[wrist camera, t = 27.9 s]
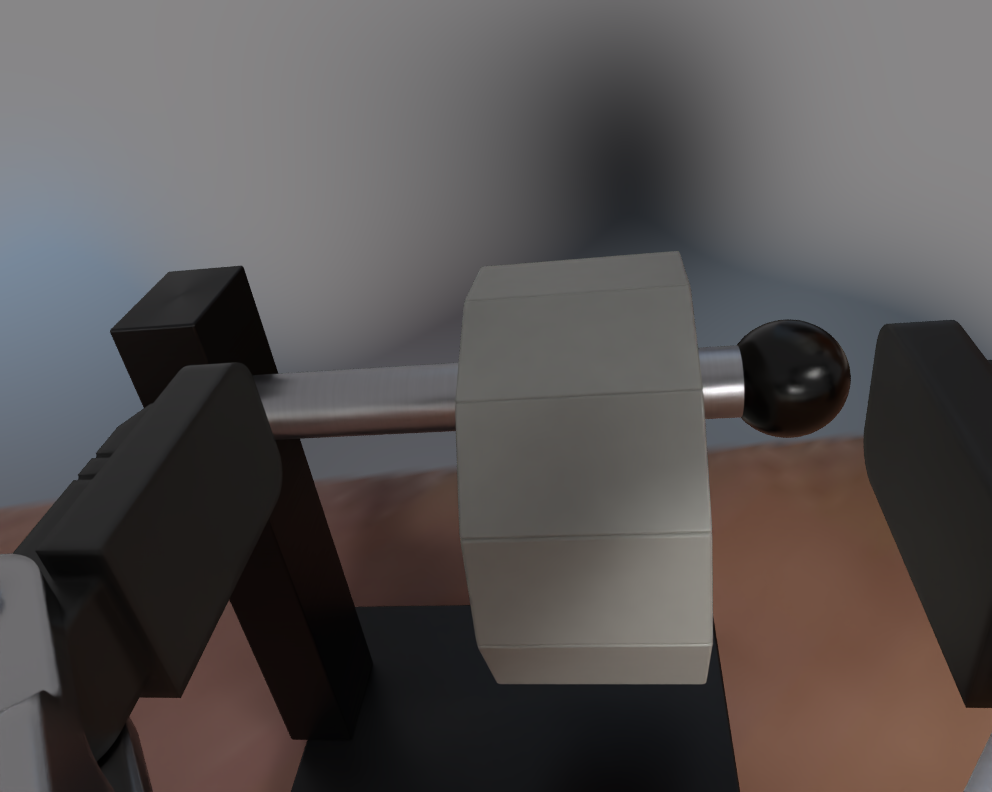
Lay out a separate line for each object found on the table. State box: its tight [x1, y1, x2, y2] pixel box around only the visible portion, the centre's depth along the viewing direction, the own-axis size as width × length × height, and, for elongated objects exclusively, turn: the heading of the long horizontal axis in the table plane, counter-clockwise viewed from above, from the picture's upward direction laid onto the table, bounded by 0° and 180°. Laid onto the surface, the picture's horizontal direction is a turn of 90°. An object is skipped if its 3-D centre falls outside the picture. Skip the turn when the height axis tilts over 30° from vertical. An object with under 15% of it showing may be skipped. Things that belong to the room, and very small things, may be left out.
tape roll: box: [455, 251, 713, 684], centre depth 20 cm, size 5×10×10 cm, turn 174°
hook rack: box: [110, 266, 851, 792], centre depth 22 cm, size 16×8×16 cm, turn 84°
